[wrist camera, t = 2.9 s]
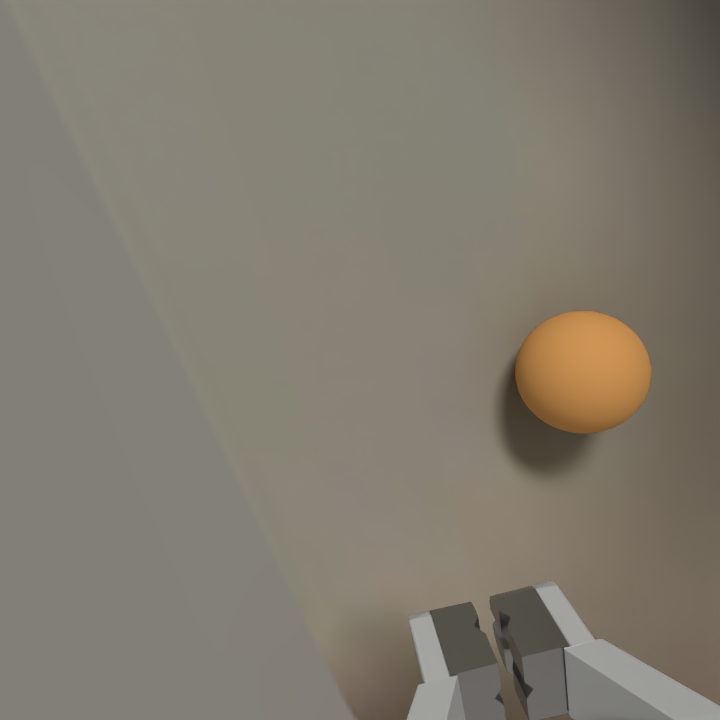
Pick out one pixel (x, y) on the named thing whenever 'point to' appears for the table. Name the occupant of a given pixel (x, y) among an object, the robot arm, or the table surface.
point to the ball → (583, 372)
